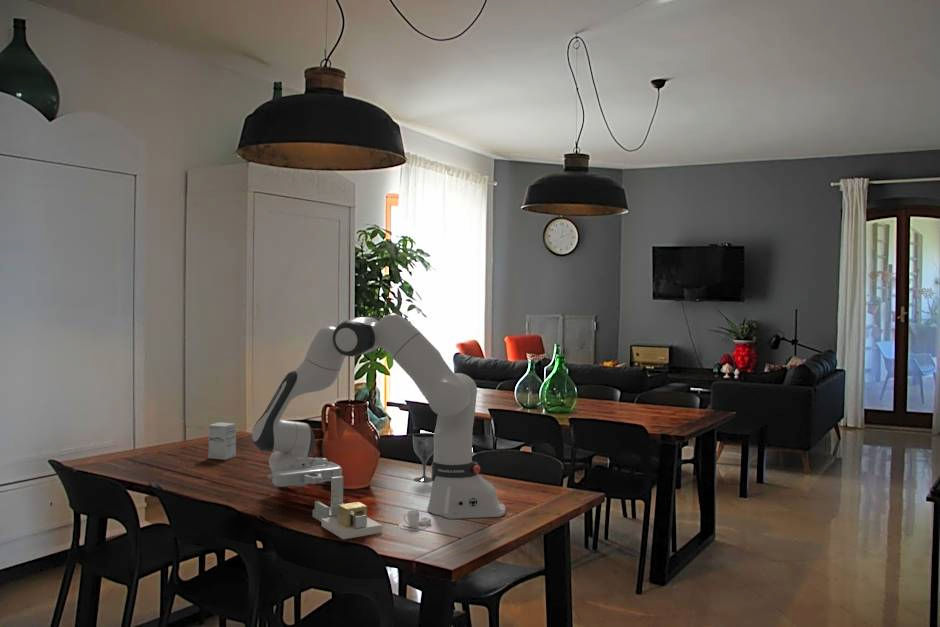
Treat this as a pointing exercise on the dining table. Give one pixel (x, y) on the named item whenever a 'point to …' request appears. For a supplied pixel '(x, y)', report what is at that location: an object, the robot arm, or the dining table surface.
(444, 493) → the robot arm
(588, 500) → the dining table surface
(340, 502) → the grey l-shaped piece
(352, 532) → the white base plate
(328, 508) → the grey blocky piece
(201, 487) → the dining table surface
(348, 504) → the block
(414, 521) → the teacup and saucer
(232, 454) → the supplement box
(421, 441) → the wine glass
